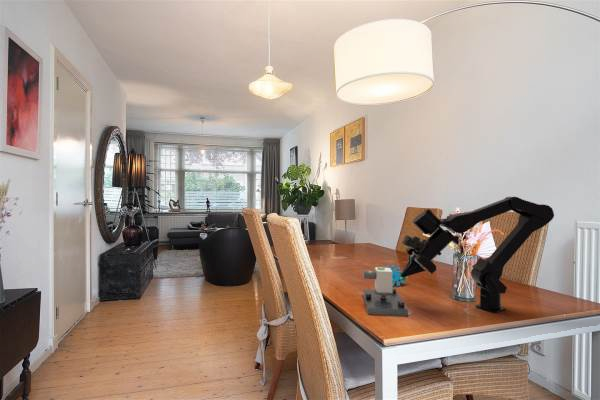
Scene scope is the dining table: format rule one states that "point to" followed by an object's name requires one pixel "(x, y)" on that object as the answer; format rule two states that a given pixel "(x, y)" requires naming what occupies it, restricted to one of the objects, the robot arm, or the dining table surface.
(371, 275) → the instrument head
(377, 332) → the dining table surface
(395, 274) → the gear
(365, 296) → the base
